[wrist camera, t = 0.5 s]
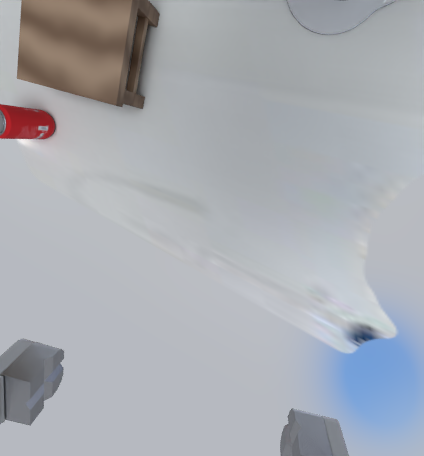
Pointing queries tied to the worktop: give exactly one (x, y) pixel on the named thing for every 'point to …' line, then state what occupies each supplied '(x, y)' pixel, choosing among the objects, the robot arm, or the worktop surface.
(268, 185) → the worktop surface
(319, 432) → the robot arm
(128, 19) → the walnut stool
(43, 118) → the beverage can
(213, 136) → the worktop surface
